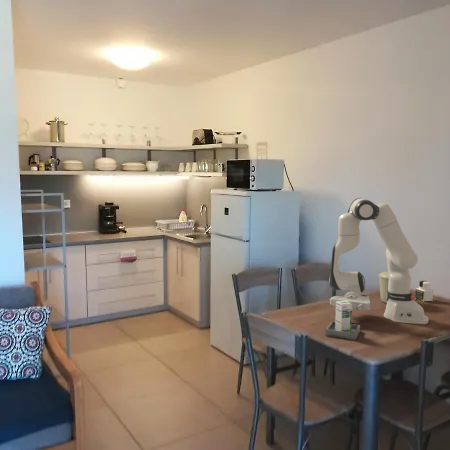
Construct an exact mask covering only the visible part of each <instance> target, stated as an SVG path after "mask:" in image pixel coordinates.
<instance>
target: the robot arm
mask: <svg viewBox="0 0 450 450" xmlns="http://www.w3.org/2000/svg"><path fill="white" fill-rule="evenodd" d="M371 220H372V221H373V222H374V225H375V227H376V229H377V232H378V235H379V236H380V239H381V241H382V242H383V243H384V246H385V247H386V249H385V257H386V262H387V263H386V265H387V271H388V274H389V282H388V291H387V303H386V306H385V310H384V313H383V317H384V318H385V319H388V320H391V321H392V322H394V323H401V324H402V323H403V324H405V323H406V324H415V325H426V324H428V323H429V320H430V319H429V317H428V316H427V315H425V311H424V308H423V307H422V305H420V304H419V303H418V302H417V301H415V294H414V293H412V292H411V283H412V282H411V279H412V278H411V275H410V270H409V269H412V268H414V267H416V265H417V264H418V256H417V253H416V252H415V251H414V249H413V248H412V246H411V244H410V243H409V241H408V239H407V237H406V236H405V234H404V232H403V230H402V228H401V226H400V223H399V221H398V219H397V217H396V214H395V213H394V211H393V209H392V208H391V207H390V205H389V204H388V203H386V202H385V203H383V202H381V203H377V204H375V203H374V202H373V201H371V200H369V199H368V198H365V197H358V198H355V199H353V201H352V202H351V203H350V206H349V207H348V210H347V212H344V213H343V214H341V215H339V217H338V221H337V222H338V223H337V233H338V235H337V236H338V239H337V242H336V243H334V244H333V247H332V252H331V263H330V273H329V274H330V275H329V280H328V281H329V282H328V284H329V287H330V288H331V289H333V290H334V291H342V290H343V291H344V290H345V291H346V290H347V292H346V293H345V294H344V296H338V295H334V296H333V295H332V297H331V298H329V305H330V306H333V307H336V301H349V302H351V303H352V310H357V311H358V310H359V311H360V310H367V311H370V310H371V299H370V296H369V295H366V294H364V291H365V290H366V289H365V288H366V281H365V280H366V279H365V277H364V275H363V274H362V273H361V272H360V271H340V270H339V269H340V259H341V256H342V255H344V254H346V253H348V252H352V251H353V250H355V249H356V248H357V247H358V246H359V244H360V242H361V235H360V234H361V233H360V224H361V221H371Z"/></svg>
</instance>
